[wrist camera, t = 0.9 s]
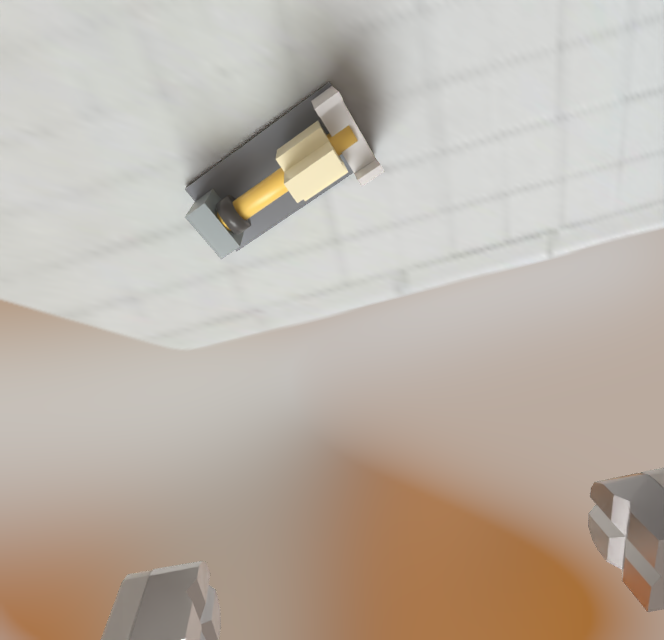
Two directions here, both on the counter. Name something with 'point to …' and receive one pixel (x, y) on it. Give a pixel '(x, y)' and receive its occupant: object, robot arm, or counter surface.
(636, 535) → the robot arm
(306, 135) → the notched stepped block
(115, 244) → the counter surface
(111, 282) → the counter surface
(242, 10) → the counter surface
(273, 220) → the linear slide clamp
